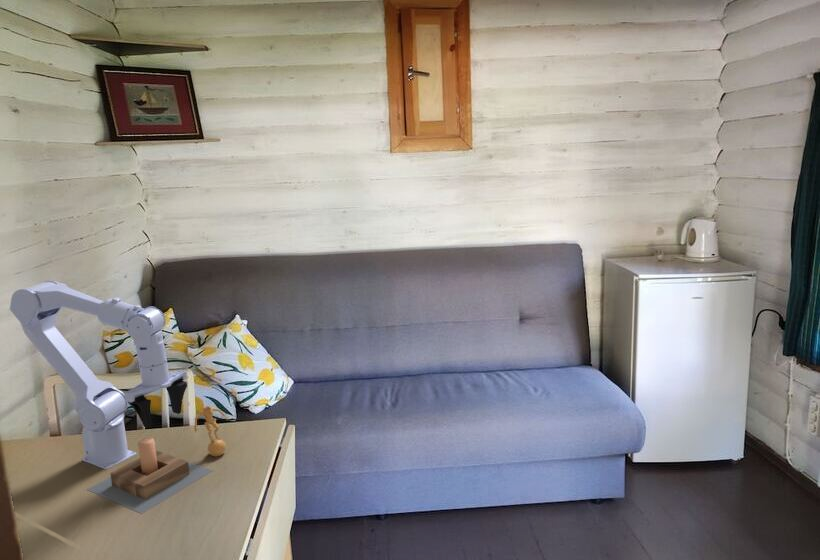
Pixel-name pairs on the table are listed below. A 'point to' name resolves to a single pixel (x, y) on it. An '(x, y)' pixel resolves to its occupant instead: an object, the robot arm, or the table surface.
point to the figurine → (216, 445)
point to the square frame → (150, 476)
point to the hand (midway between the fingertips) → (162, 419)
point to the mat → (143, 505)
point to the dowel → (147, 456)
